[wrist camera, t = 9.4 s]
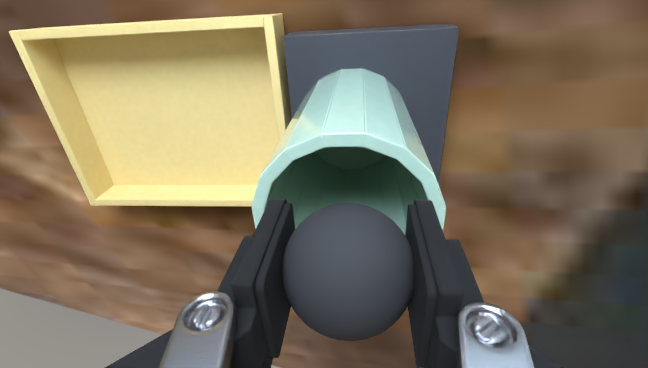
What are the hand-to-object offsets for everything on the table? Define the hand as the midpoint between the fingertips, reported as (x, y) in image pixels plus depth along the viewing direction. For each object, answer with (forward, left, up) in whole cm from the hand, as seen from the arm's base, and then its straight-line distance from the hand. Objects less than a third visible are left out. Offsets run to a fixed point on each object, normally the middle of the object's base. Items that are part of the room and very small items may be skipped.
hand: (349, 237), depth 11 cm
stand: (-1, +1, -15) cm, 15 cm away
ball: (0, 0, +2) cm, 2 cm away
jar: (0, 0, -12) cm, 12 cm away
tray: (+9, -10, -15) cm, 20 cm away
